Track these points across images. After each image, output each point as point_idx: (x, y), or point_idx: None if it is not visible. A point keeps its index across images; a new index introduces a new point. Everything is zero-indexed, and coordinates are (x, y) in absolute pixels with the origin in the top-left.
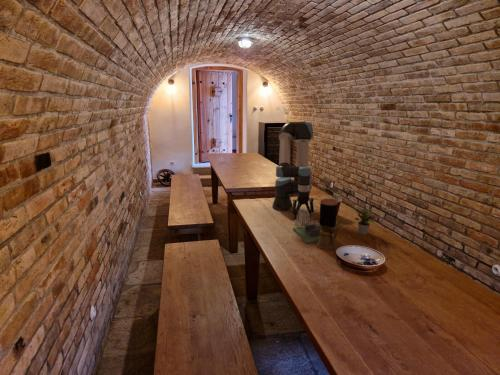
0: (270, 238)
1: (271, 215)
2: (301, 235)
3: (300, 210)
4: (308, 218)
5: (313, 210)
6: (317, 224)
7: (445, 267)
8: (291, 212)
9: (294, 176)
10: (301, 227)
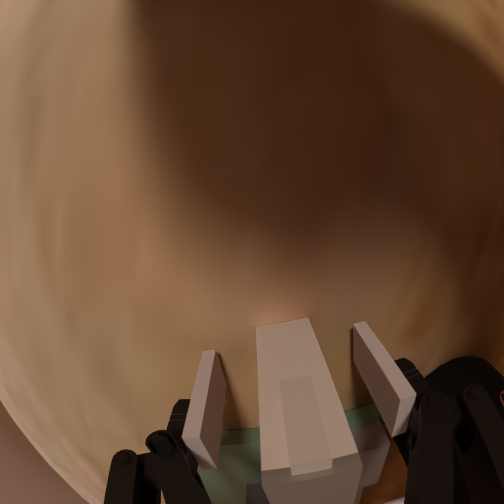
0: (63, 452)
1: (27, 81)
2: (213, 502)
3: (269, 497)
4: (371, 389)
5: (469, 438)
6: (367, 475)
7: None
8: (112, 464)
9: None
10: (241, 450)
